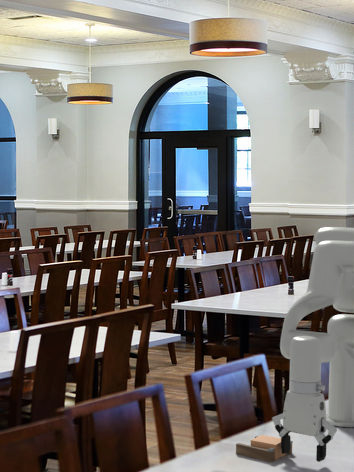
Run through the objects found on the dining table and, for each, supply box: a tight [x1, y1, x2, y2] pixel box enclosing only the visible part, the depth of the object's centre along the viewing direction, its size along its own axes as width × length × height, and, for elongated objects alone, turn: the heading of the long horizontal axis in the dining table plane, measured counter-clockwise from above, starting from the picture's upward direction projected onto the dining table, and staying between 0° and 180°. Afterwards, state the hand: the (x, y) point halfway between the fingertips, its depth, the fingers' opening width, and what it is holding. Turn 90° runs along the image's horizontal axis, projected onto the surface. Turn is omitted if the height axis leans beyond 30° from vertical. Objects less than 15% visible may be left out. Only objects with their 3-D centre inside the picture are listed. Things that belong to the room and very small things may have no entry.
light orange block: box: [250, 434, 287, 461], centre depth 216 cm, size 6×7×4 cm
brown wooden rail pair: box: [235, 435, 294, 463], centre depth 217 cm, size 10×10×3 cm
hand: (302, 456), depth 210 cm, fingers open, 9 cm apart
